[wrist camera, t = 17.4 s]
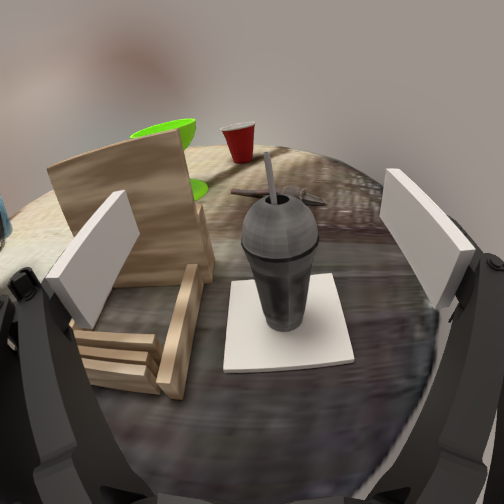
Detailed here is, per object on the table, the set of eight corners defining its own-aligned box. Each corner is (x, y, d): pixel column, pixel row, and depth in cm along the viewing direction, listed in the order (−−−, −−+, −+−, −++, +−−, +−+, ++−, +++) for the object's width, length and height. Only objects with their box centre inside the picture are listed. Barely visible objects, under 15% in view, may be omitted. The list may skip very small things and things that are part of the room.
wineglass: (220, 189, 67) (208, 118, 56) (163, 216, 59) (142, 139, 49) (189, 177, 77) (177, 118, 67) (140, 199, 70) (122, 136, 59)
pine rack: (194, 400, 26) (88, 212, 12) (58, 379, 27) (-44, 247, 14) (216, 259, 45) (187, 121, 32) (111, 267, 46) (67, 154, 33)
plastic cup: (239, 154, 90) (235, 120, 83) (266, 157, 84) (262, 120, 77) (218, 164, 83) (212, 128, 76) (245, 168, 78) (240, 128, 70)
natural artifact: (324, 214, 55) (321, 205, 52) (231, 195, 65) (224, 186, 61) (329, 198, 56) (326, 188, 52) (237, 181, 66) (230, 172, 62)
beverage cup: (322, 303, 33) (329, 140, 22) (301, 350, 29) (301, 167, 17) (270, 289, 37) (253, 135, 25) (243, 329, 32) (207, 161, 20)
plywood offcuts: (160, 394, 26) (143, 375, 24) (79, 382, 27) (59, 362, 25) (168, 356, 30) (154, 334, 28) (91, 350, 31) (74, 329, 29)
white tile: (353, 362, 27) (354, 359, 27) (224, 372, 28) (223, 369, 28) (331, 277, 38) (331, 273, 38) (232, 285, 39) (231, 281, 39)
